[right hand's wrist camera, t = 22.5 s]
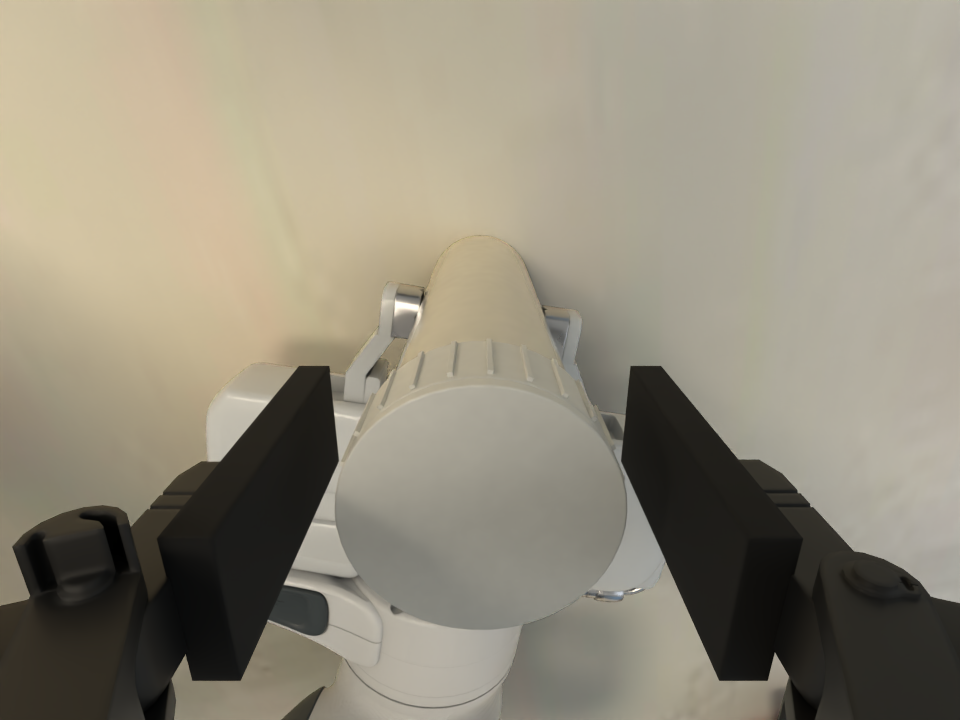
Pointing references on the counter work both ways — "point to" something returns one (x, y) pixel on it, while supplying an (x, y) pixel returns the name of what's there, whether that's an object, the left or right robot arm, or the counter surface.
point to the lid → (480, 488)
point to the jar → (480, 301)
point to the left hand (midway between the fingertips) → (482, 298)
